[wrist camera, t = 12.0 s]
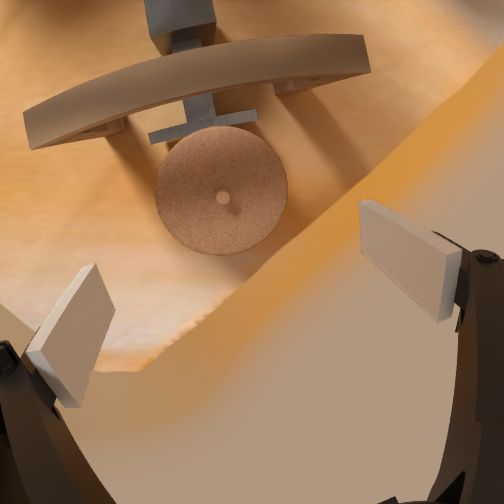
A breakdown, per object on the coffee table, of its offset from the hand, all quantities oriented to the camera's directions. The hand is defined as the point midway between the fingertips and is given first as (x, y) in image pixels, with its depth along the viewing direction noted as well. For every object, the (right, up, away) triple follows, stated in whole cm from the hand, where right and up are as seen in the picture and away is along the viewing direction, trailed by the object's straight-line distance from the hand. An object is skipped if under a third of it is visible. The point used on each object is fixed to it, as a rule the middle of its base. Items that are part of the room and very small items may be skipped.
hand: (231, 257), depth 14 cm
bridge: (-4, +15, +13) cm, 21 cm away
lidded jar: (-3, +8, +17) cm, 19 cm away
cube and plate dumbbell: (-5, +18, +11) cm, 22 cm away
